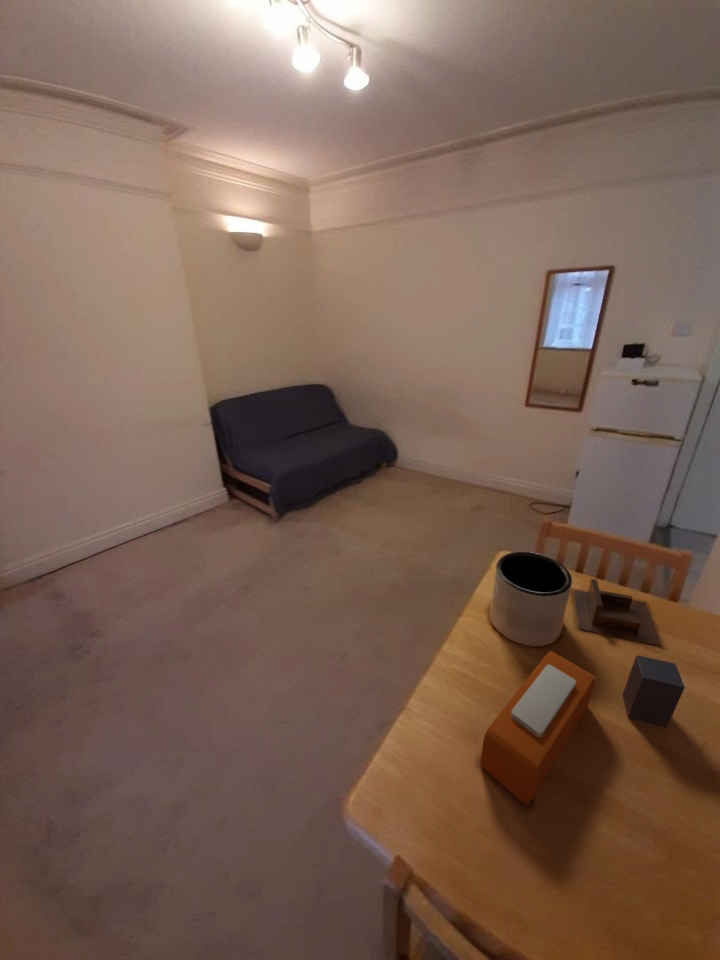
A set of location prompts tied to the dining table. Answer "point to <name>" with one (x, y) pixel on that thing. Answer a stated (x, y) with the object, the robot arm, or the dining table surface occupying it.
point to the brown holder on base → (614, 615)
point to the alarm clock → (536, 725)
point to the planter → (530, 598)
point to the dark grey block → (652, 691)
